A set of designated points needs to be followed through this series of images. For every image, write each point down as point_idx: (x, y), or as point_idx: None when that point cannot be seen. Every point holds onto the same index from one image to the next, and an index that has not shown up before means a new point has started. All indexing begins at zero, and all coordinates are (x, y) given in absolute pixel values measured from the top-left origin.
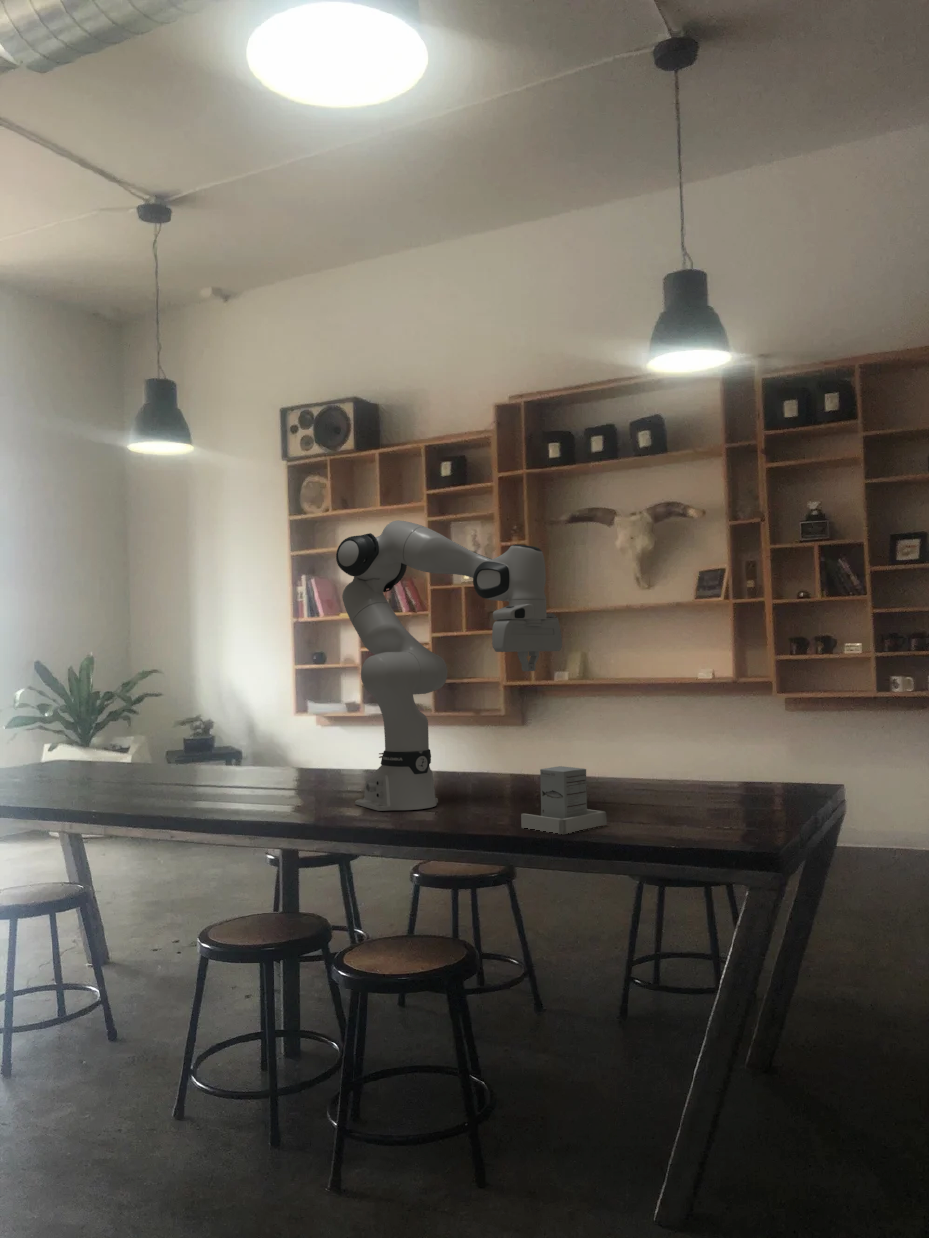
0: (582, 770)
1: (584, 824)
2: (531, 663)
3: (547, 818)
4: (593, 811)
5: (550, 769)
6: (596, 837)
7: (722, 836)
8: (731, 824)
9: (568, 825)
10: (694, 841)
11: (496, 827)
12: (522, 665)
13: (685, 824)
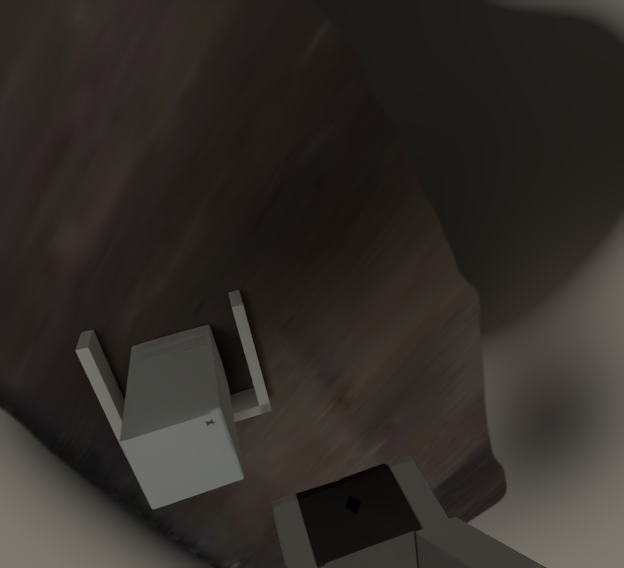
0: (227, 483)
1: None
2: (422, 563)
3: (109, 421)
4: (255, 391)
5: (140, 465)
6: None
7: None
8: (438, 466)
9: None
10: None
11: (23, 292)
12: (287, 562)
13: (387, 439)
